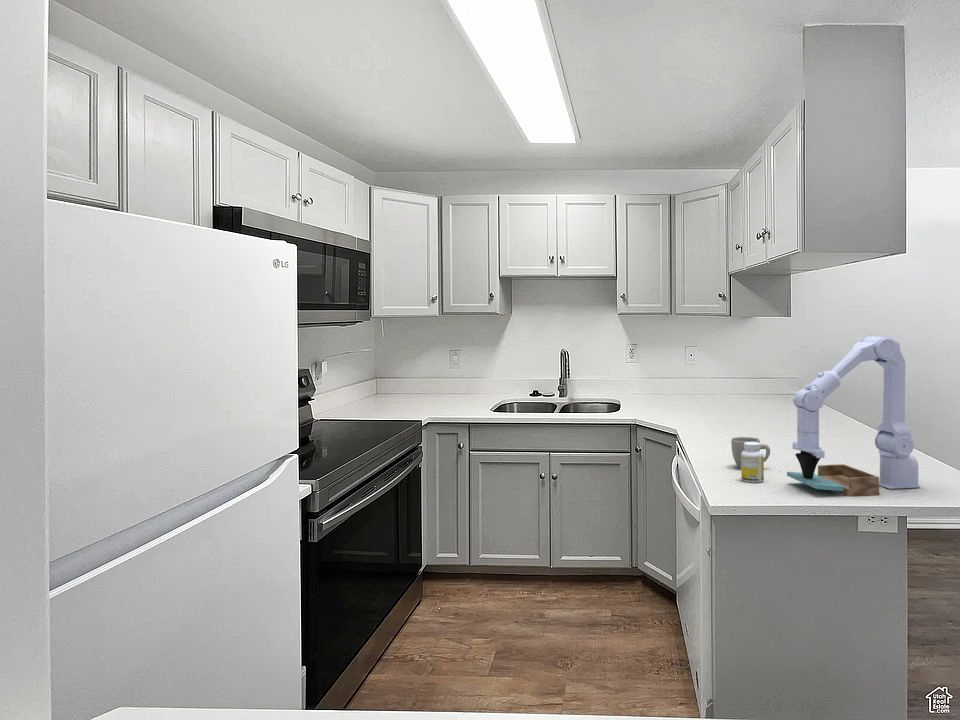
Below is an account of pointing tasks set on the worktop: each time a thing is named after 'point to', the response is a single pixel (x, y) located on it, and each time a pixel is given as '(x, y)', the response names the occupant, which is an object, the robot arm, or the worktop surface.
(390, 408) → the worktop surface
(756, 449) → the pill bottle
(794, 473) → the teal box lid
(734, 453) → the mug
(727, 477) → the worktop surface
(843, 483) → the wooden box
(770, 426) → the worktop surface
